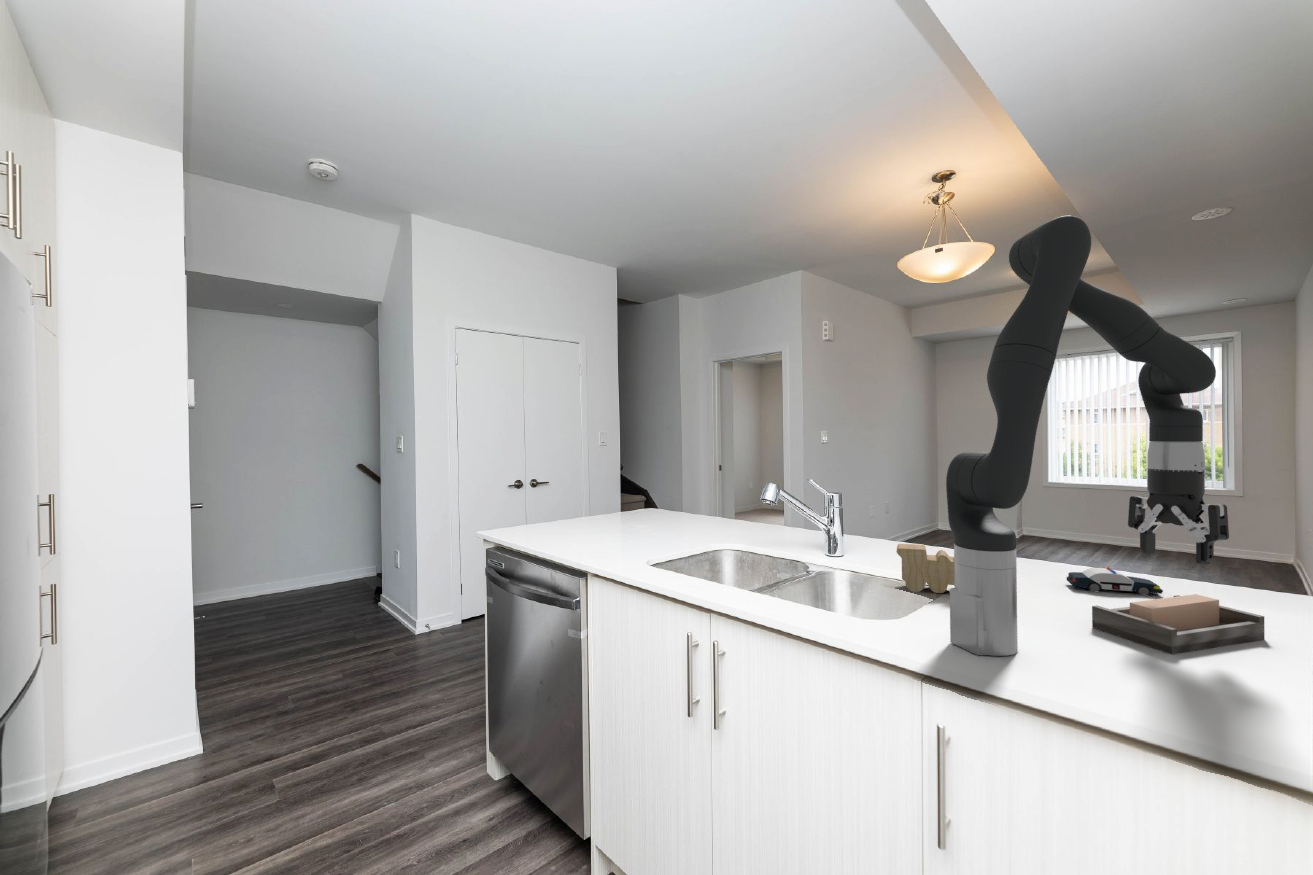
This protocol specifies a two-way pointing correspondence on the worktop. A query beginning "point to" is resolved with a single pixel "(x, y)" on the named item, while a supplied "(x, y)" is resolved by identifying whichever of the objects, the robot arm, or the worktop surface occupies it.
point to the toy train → (925, 568)
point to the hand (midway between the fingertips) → (1175, 558)
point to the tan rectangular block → (1179, 611)
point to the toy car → (1111, 581)
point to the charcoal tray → (1228, 632)
